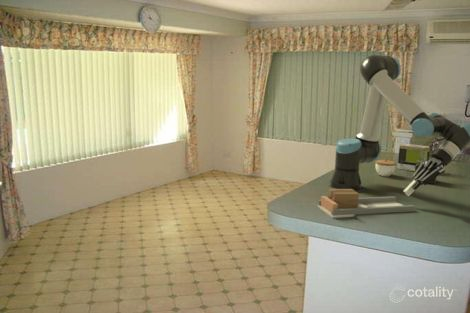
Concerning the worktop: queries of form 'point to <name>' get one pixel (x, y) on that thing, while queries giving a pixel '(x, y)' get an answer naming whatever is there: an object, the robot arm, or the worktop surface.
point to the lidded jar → (385, 167)
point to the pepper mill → (425, 161)
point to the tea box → (411, 156)
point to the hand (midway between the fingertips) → (406, 193)
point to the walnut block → (344, 198)
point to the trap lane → (364, 206)
